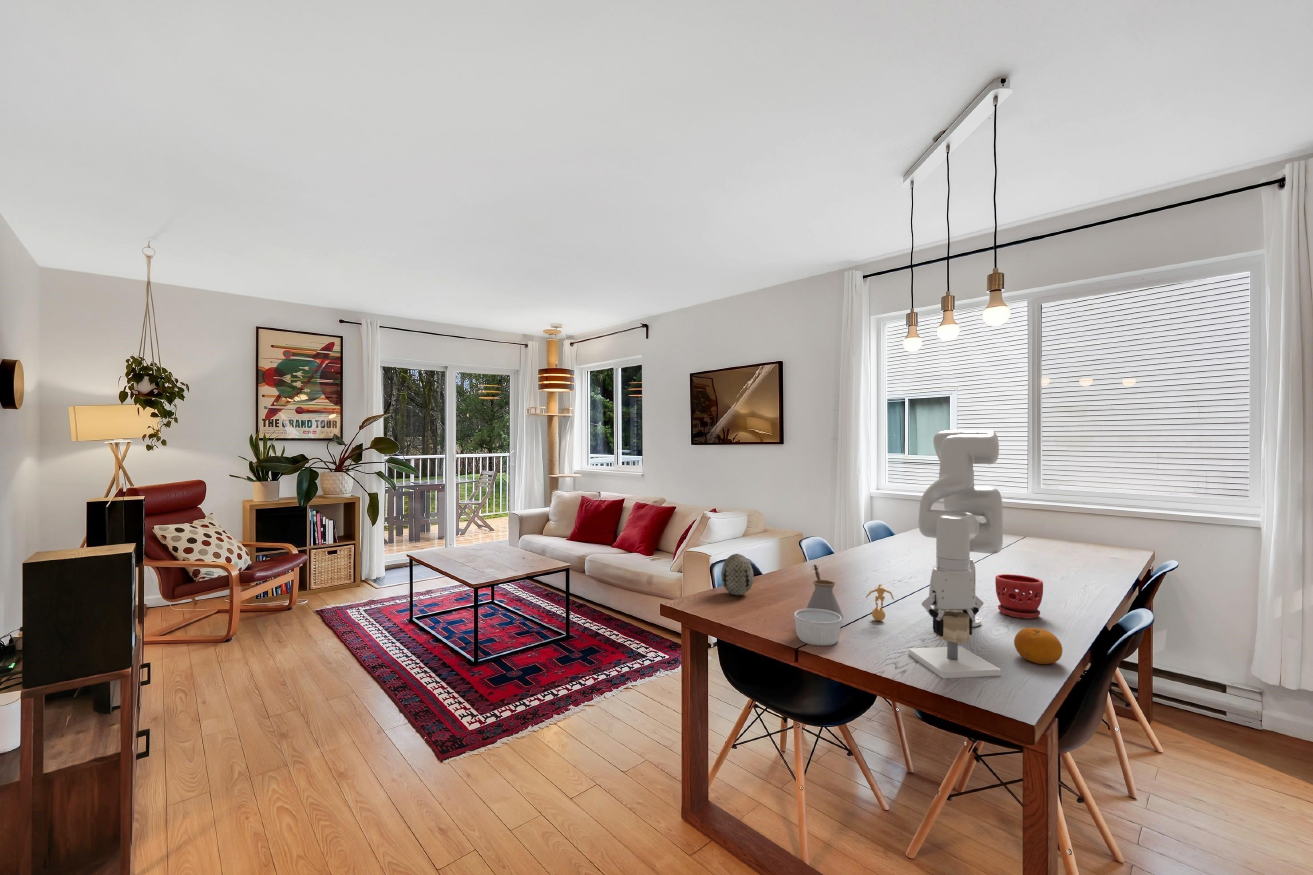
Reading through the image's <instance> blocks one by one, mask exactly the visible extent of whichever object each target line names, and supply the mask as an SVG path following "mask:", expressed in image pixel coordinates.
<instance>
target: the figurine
mask: <svg viewBox="0 0 1313 875" xmlns="http://www.w3.org/2000/svg"><path fill="white" fill-rule="evenodd" d="M875 592H876V593H877V595H876V596H875V599H874V601H875V602H874V603H875V607H874V608H873V610H871V616H872V619H874V620H875V621H878V622H882V621H884V620H885V619H886V612H885V610H884V609H883V607H884V603H883V602H884V601H885V600H886V599H885V597H886V596H885V595H884V594H885V593H887V594H889V595H890V597H891V600H892V601H894V599H895V598H894V596H893V594H892V592H891V591H890V590H888V589H886V588H884V587H883V586H882V584H881V583H879V584H878V586H877V588H875V589H872V590H871V591H869V593H868V594H867V595H866V596H865V599H867V598H868V597H869V596H871V594H872V593H875ZM879 601H880V602H881V603H880V607H879V605H878V602H879Z"/></svg>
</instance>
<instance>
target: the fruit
mask: <svg viewBox="0 0 1313 875" xmlns="http://www.w3.org/2000/svg"><path fill="white" fill-rule="evenodd" d="M1013 639H1014V640H1013V645H1014V648H1015V650H1016V652H1017V653H1018V654H1019V656H1021V657H1022V658H1023V659H1025V660H1026V661H1029V662H1031V663H1033V664H1037V665H1050V664H1054V663H1057V662H1058V661H1059V660H1060V659H1061V658H1062V656H1063V645H1062V643H1061V641H1060V639H1059V638H1058V637H1057V636H1056V635H1054V634H1053V633H1052V632H1051V631H1048V630H1047V629H1042V628H1039V627H1024V628H1022V629H1020V630H1019V631H1018V632H1017V633H1016V634H1015V636H1014V638H1013Z"/></svg>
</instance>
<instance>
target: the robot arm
mask: <svg viewBox="0 0 1313 875" xmlns="http://www.w3.org/2000/svg"><path fill="white" fill-rule="evenodd" d="M933 448H934V450H935V454H936V456H937V458H938V460H939V472H938V473H939V474H938V475H939V476H938V479H936V481H934V482H933V483H932V484H931V485H930V486H929V487H928V488H926V489H925V491H924V492H923V494H922V495H921V499H920V502H919V508H918V509H919V510H918V529H919V533H920V534H921V535H922V536H924V537H927V538H930V539H931V538H932V539H936V541H935V544H936V547H935V549H936V552H935V553H936V555H935V556H936V557H935V558H936V560H935V564H936V565H935V566H936V567H933V568H932V571H931V574H930V580H929V590H928V597H926V599H925V600H923V601H922V602H921V606H922V607H923V608H924V610H925V611H926V612H927V614H928V615H929V616H930V617H931V618H932V630H933V633H934V634H935V635H936V634H937V635H939V636H943V620H941V618H942V616H943V614H944V612H945V610H956V611H961V612H964V613H966V614H968V615H969V636H972V635H973V627H974V628H975V627H979V626H981V625H982V620H981V618H980V617H979V616H976V615H977V613H979V612H980V609H981V608H983V605H984V601H983V600H982V599H981V598H980V597H978V596H977V595H976V572H977V571H976V565H975V562H974V559H972V558H971V557H970V553H977V554H978V553H979V554H989V555H995V554H998V553H1000V552H1001V551H1002V548H1003V541H1004V539H1003V535H1004V534H1003V533H1004V532H1003V530H1004V527H1003V525H1004V524H1003V523H1004V522H1003V521H1004V520H1003V499H1002V495H1001V492H1000V491H999V490H998V488H995V487H992V486H978V485H977V486H976V485H975V471H974V465H993V464H995V463H996V462H997V461H998V459H999V454H1000V443H999V438H998V435H997V433H996V432H995V431H993V430H985V429H984V430H983V429H980V430H976V429H975V430H974V429H973V430H969V429H968V430H965V429H964V430H963V429H958V430H957V429H953V430H951V429H950V430H943V431H938V432H937V433H935V434H934V437H933ZM940 500H942V501H943V508H944V510H941V509H938V510H937V509H932V506H933V505H934V504H935V503H937V502H938V501H940ZM978 518H982V519H984V520H985V521H979V519H978ZM932 606H933V608H932Z"/></svg>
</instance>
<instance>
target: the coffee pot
mask: <svg viewBox="0 0 1313 875" xmlns="http://www.w3.org/2000/svg"><path fill="white" fill-rule="evenodd" d="M813 567H814V568H813ZM811 569H812V570H814V574H815V578H816V580H813V582H812V583H813V585H814V591H813V592H812V595H811V596H810V600H809V601H808V603H807V606H806V608H805V609H823V610H828V611H832V612H835V613H837V614H839V615H840V616H841V617H842V620H843V619H844V615H843V612H842V610H841V607H840V605H839V603H838V601H837V598H836V595H835V592H834V591H833V589H834V587H835V585H836V582H834V581H833V580H827V579H821V576H820V572H819V566H818V565H817V564H814V565H812V566H811Z"/></svg>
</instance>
